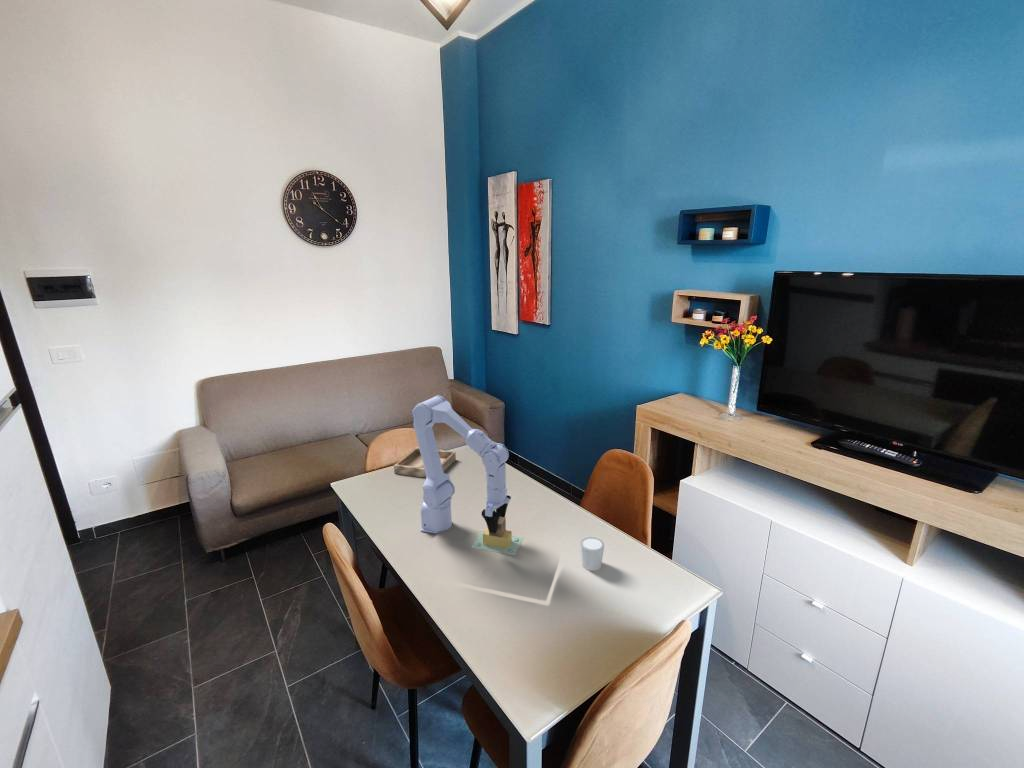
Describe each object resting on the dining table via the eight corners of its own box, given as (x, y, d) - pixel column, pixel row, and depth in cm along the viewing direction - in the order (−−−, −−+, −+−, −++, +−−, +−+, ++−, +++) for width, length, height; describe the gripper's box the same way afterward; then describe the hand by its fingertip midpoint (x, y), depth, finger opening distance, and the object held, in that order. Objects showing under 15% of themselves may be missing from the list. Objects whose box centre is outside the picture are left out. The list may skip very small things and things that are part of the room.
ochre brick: (482, 544, 145) (482, 534, 144) (487, 536, 148) (487, 526, 147) (507, 548, 142) (507, 538, 141) (511, 541, 146) (511, 531, 145)
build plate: (470, 550, 143) (470, 546, 143) (481, 533, 152) (481, 530, 151) (514, 558, 139) (514, 554, 139) (523, 540, 148) (523, 537, 147)
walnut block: (489, 535, 143) (488, 522, 142) (493, 528, 147) (493, 515, 145) (501, 537, 142) (501, 524, 141) (505, 530, 146) (505, 517, 144)
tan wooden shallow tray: (394, 473, 194) (393, 465, 193) (416, 454, 211) (416, 447, 210) (436, 479, 188) (436, 471, 187) (455, 459, 205) (455, 452, 204)
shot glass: (605, 559, 138) (606, 539, 136) (601, 574, 132) (602, 552, 130) (581, 555, 141) (582, 534, 139) (577, 569, 134) (577, 548, 132)
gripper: (501, 498, 132) (501, 541, 136) (516, 475, 145) (516, 514, 149) (477, 495, 134) (479, 536, 138) (494, 472, 147) (495, 511, 151)
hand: (497, 525), depth 144 cm, fingers open, 7 cm apart
